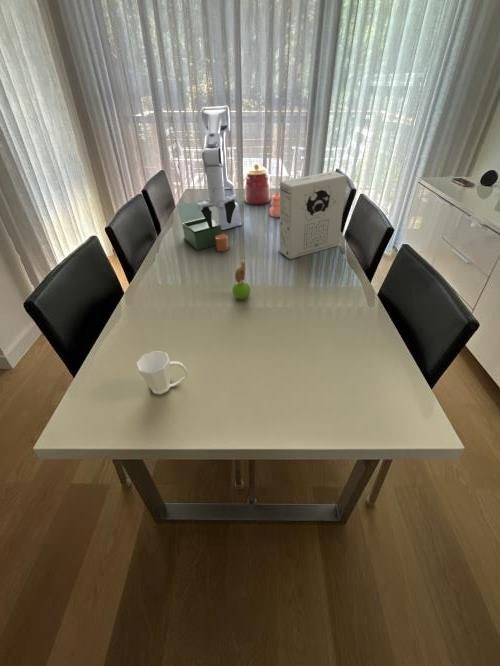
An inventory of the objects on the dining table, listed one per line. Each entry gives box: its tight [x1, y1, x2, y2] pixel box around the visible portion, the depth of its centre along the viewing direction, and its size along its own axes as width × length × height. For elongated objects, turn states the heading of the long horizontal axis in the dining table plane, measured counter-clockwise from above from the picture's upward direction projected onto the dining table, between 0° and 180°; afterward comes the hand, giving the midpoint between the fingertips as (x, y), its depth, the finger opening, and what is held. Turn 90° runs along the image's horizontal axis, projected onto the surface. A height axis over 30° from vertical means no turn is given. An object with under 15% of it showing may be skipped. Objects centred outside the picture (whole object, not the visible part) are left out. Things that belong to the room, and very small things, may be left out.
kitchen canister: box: [243, 162, 271, 206], centre depth 168 cm, size 13×13×18 cm
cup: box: [135, 350, 188, 395], centre depth 74 cm, size 7×10×8 cm
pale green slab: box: [176, 199, 204, 222], centre depth 137 cm, size 6×11×1 cm
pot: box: [215, 233, 229, 252], centre depth 130 cm, size 5×5×5 cm
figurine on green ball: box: [231, 256, 251, 300], centre depth 100 cm, size 5×6×12 cm
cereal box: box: [279, 170, 348, 260], centre depth 120 cm, size 22×8×25 cm, turn 115°
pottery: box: [269, 191, 280, 218], centre depth 154 cm, size 18×10×10 cm, turn 94°
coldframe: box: [181, 217, 223, 251], centre depth 136 cm, size 13×11×7 cm
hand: (219, 225), depth 125 cm, fingers open, 7 cm apart
